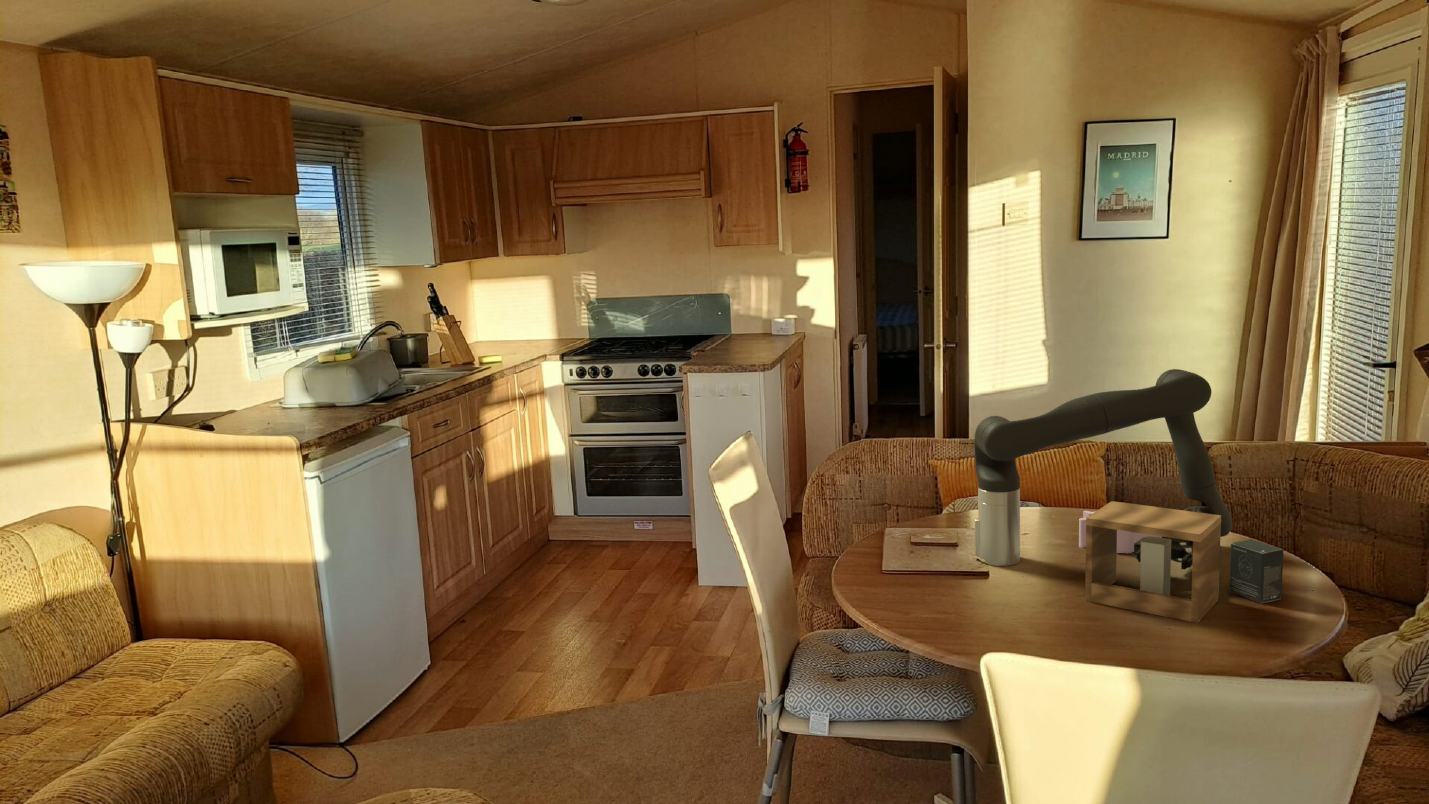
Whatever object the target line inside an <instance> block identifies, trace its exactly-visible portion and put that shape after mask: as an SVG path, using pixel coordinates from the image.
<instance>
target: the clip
mask: <svg viewBox="0 0 1429 804" xmlns="http://www.w3.org/2000/svg"><path fill="white" fill-rule="evenodd" d="M1096 511H1097V510H1096ZM1096 511H1089V510H1083V511H1082V512H1083V513H1082V517H1080V518H1079V519H1078V524H1079V525H1078V547H1079V548H1082V549H1083V548H1086V518H1087V517H1088V516H1090V515H1091V514H1093V513H1094V512H1096ZM1147 536H1153V537H1159V538H1162V536H1155V535H1149V534H1142V533H1135V532H1129V531H1122V530H1117V553H1126V554H1133V553H1132V552H1134V543H1136V542H1137V541H1139V540H1140V539H1142V538H1144V537H1147Z"/></svg>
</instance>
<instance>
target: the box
mask: <svg viewBox="0 0 1429 804" xmlns="http://www.w3.org/2000/svg"><path fill="white" fill-rule="evenodd" d="M1283 566H1284V549H1283V548H1281V547H1278V546H1275V545H1271V544H1268V543H1264V542H1262V541H1258V540H1254V539H1246V540H1240V541H1235V542H1231V543H1230V566H1229V567H1230V568H1229V574H1230V575H1229V592H1230V593H1231V594H1234V595H1236V596H1237V595H1238V596H1241V597H1242V598H1245V599H1248V600H1251V601H1253V602H1256V603H1259V604H1264V603H1266V604H1267V603H1271V602H1275V601H1280V600H1282V596H1283V595H1282V594H1283V593H1282V592H1283V572H1284V570H1283V569H1284V567H1283Z"/></svg>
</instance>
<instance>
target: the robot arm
mask: <svg viewBox="0 0 1429 804" xmlns="http://www.w3.org/2000/svg"><path fill="white" fill-rule="evenodd" d="M1211 398H1212V387H1211V385H1210V383H1209V382H1208V380H1207V379H1205V377H1203V376H1201V375H1199V374H1197V373H1195V372H1191V371H1187V370H1183V369H1177V368H1173V369H1168V370H1166V371H1163V372H1162V373H1161V374H1160V375H1159V377H1157V380H1156V383H1155V385H1152V386H1149V387H1145V388H1139V389H1126V390H1124V389H1123V390H1109V391H1102V392H1100V391H1099V392H1096V393H1093V394H1087V395H1084V396H1081V397H1077V398H1073V399H1070V400H1069V401H1066V402H1064V403H1062V404H1060V405H1059V406H1057V407H1055V408H1053V409H1052V410H1050V411H1048V412H1046V413H1044V414H1041V415H1039V416H1034V417H1029V418H1024V419H1019V420H1011V421H1010V420H1009V419H1008V418H1005V417H1003V416H1000V415H991V416H987V417H985V418H983V419H982V420H981V421H980V422H979V423H978V425H977V426H976V429H975V432H974V464H975V465H974V468H975V470H974V471H975V474H976V478H977V501H978V504H977V505H978V506H977V507H978V509H977V510H978V511H977V512H978V514H977V516H978V517H977V518H976V519H975V520H974V557H975V556H977V557H980V558H981V559H984V560H985V562H987V564H986V565H990V566H995V567H1000V566H1001V567H1004V566H1005V567H1006V566H1013V565H1016V564H1019V562H1020V561H1021V478H1020V474H1019V472H1018V469H1017V464H1016V459H1018V458H1021V457H1023V456H1025V455H1028V454H1031V453H1034V452H1037V451H1039V450H1042V449H1045V448H1049V447H1053V446H1056V445H1064V444H1067V443H1071V442H1076V441H1079V440H1080V441H1081V440H1084V439H1089V438H1093V437H1096V436H1101V435H1104V434H1108V433H1111V432H1114V431H1117V430H1122V429H1126V428H1129V427H1131V426H1132V427H1133V426H1135V425H1139V424H1141V423H1146V422H1149V421H1152V420H1157V419H1163V418H1164V419H1165V422H1166V426H1167V429H1168V432H1169V435H1170V439H1171V442H1172V445H1173V449H1174V452H1175V457H1176V461H1177V466H1178V471H1179V472H1178V473H1179V478H1180V482H1181V483H1180V484H1181V486H1182V487H1181V488H1182V492H1183V494H1184V495H1183V496H1185V497H1186V499H1188V500H1193V501H1197V502H1200V503H1203V504H1204V505H1202V506H1197V505H1195V506H1194V505H1193V506H1188V507H1186V508H1184V509H1183V511H1191V512H1199V513H1206V514H1214V515H1221V537H1223V538H1224V537H1226V536H1228V535H1229V534H1230V532H1231V530H1232V528H1233V520H1232V516H1231V514H1230V511H1229V510H1228V508H1227V506H1226V504H1225V502H1224V500H1223V498H1222V496H1221V494H1220V492H1219V489H1218V487H1217V481H1216V477H1215V472H1214V467H1213V463H1212V459H1211V456H1210V454H1209V451H1208V449H1207V447H1206V445H1205V443H1204V441H1203V439H1202V437H1201V434H1200V432H1199V430H1198V429H1199V428H1198V427H1197V423H1196V422H1197V421H1196V419H1195V413H1197V412H1198V411H1200V410H1202V409H1203V408H1204V407H1205V406H1207V405H1208V403H1209V401H1210V399H1211ZM1221 537H1220V538H1221ZM1145 538H1146V537H1144V538H1142V539H1140V540H1139V541H1137V542H1136V543H1134V553H1133V555H1134V556H1135V557H1136V560H1137V561H1138V562H1139V563H1141V541H1142V540H1144V539H1145ZM1162 538H1166V539H1171V562H1172V561H1173V562H1175V563H1181V566H1180V568H1181V570H1187V569H1190V568H1192V563H1193V541H1189V540H1182V539H1176V538H1169V537H1162Z"/></svg>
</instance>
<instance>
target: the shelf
mask: <svg viewBox="0 0 1429 804" xmlns="http://www.w3.org/2000/svg"><path fill="white" fill-rule="evenodd" d="M1183 510H1184V509H1183ZM1183 510H1182V509H1175V508H1166V507H1159V506H1154V505H1153V506H1152V505H1145V504H1137V503H1129V502H1123V501H1122V502H1120V501H1114V500H1111V501H1110V502H1108V503H1106V504H1105V505H1104V506H1102V507H1101V508H1099V509H1097V510H1096V512H1095V511H1093V512H1094V513H1093V514H1091V515H1090V516H1088V517H1087V518H1086V547H1085V590H1084V591H1085V594H1084V595H1085V598H1084V599H1085V600H1084V601H1085V602H1089V603H1094V604H1100V605H1104V606H1110V607H1114V608H1120V609H1126V610H1131V611H1135V612H1141V613H1145V614H1150V615H1156V616H1160V617H1164V618H1165V617H1167V618H1170V619H1171V618H1172V619H1176V620H1181V621H1184V622H1185V621H1187V622H1192V623H1197V624H1198V623H1199V622H1200V621H1201V620H1202V619H1203V617H1205V615H1206V614H1207V613H1208V612H1209V611H1210V610H1211V609H1212V607H1214V605H1215V604H1216V603H1217V602H1218V601H1219V599H1220V598H1219V596H1220V595H1219V593H1220V592H1219V589H1220V565H1221V564H1220V562H1221V561H1220V559H1221V515H1214V514H1206V513H1199V512H1191V511H1183ZM1117 530H1122V531H1129V532H1135V533H1142V534H1149V535H1155V536H1162V537H1169V538H1176V539H1182V540H1189V541H1193V563H1192V566H1191V569H1192V571H1191V598H1185V597H1180V596H1175V595H1171V594H1170V595H1165V594H1159V593H1154V592H1148V591H1143V590H1140V589H1137V588H1131V587H1126V586H1121V585H1117V584H1116V585H1115V583H1116V582H1117V557H1118V555H1117ZM1217 600H1218V601H1217ZM1201 618H1202V619H1201ZM1199 620H1200V621H1199Z"/></svg>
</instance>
